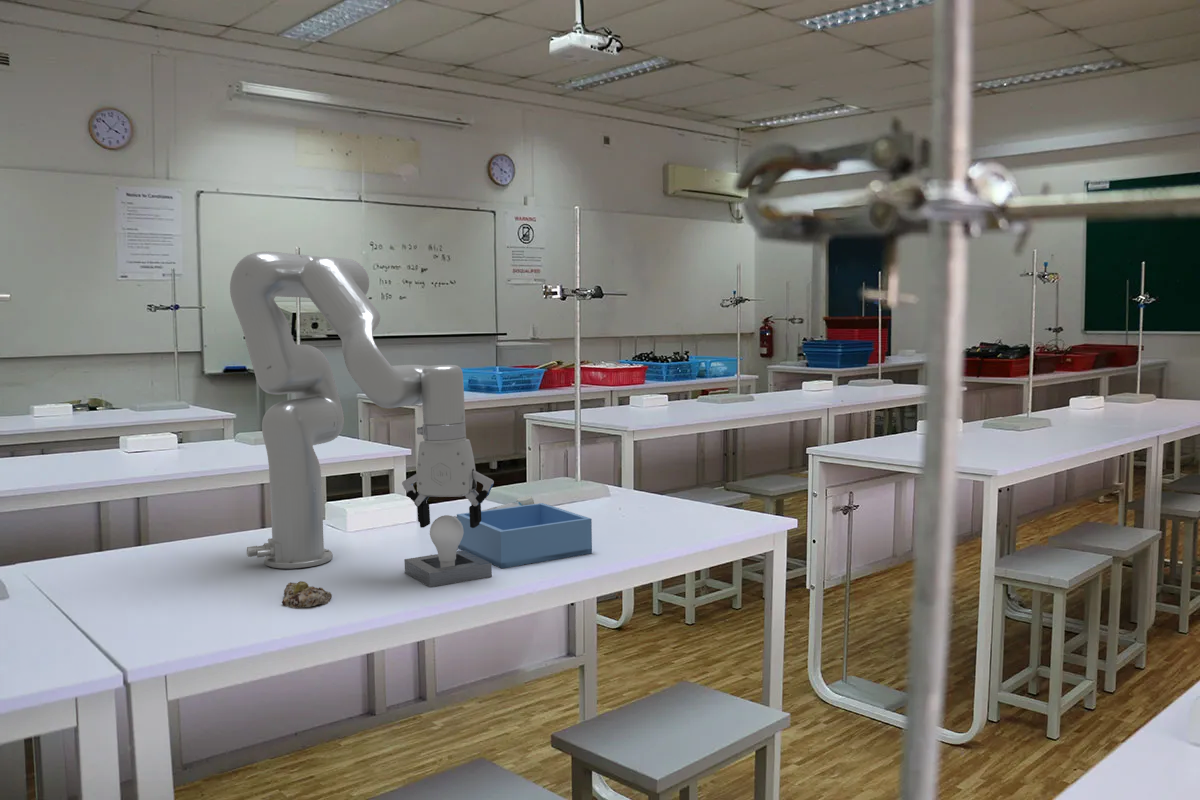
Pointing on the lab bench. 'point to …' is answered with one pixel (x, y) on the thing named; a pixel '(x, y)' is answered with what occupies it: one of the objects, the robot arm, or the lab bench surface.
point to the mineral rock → (304, 595)
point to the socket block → (447, 569)
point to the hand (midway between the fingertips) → (449, 526)
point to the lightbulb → (446, 538)
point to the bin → (526, 535)
